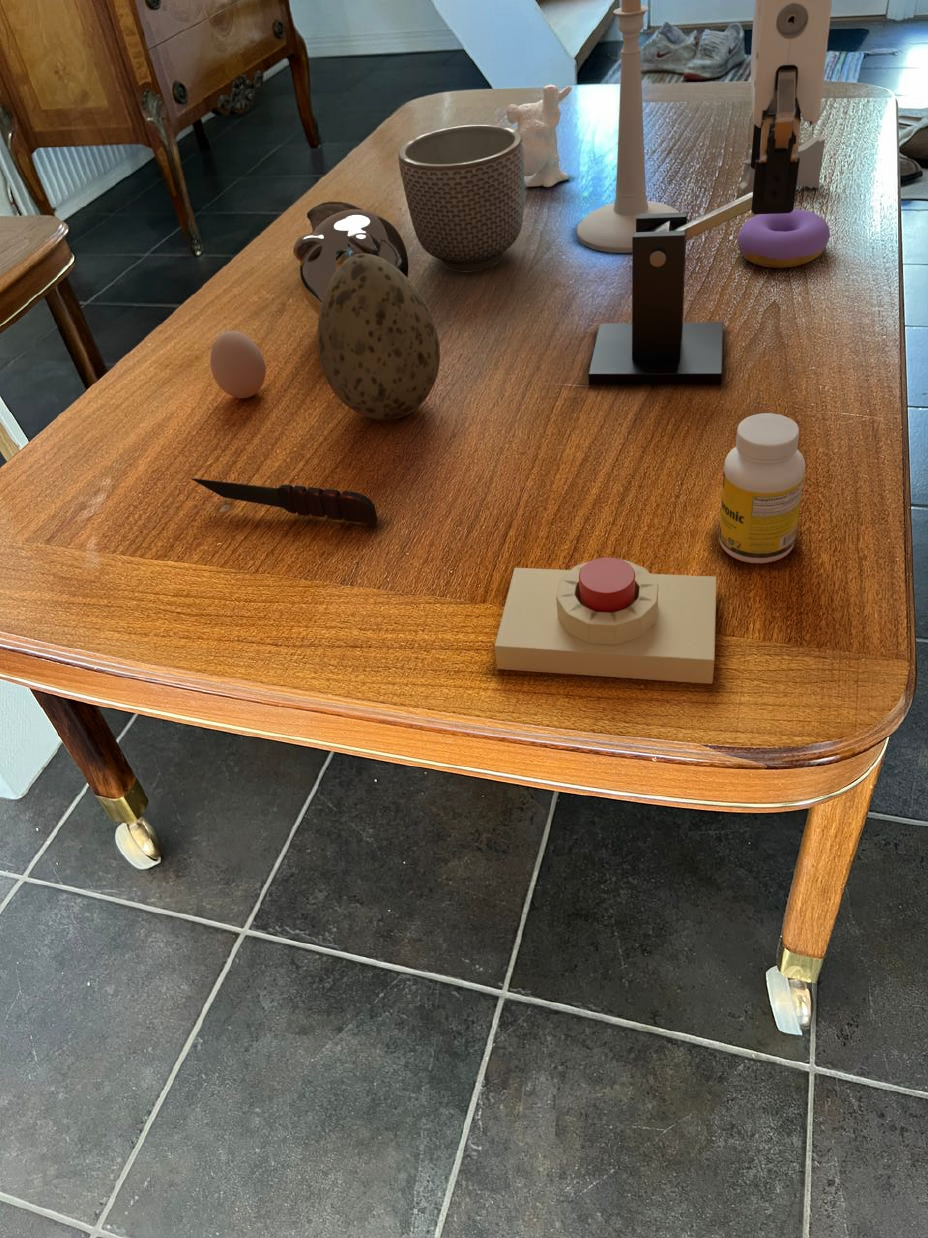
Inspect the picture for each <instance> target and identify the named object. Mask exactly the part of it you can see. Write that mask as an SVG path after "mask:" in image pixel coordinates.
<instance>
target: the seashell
mask: <svg viewBox="0 0 928 1238" xmlns="http://www.w3.org/2000/svg"><path fill="white" fill-rule="evenodd" d="M351 209H360V210H363V209H362V208H360V207H358V206H356V205H353V204H351V203H349V202H344V201H326V202H322V203H320V204H318V205H316V206H314V207H312V208H311V209H310V210H309V211H307V213H306V218H307V219H308V220H309V222H310V226H311V230H312V231H313V230H314V229H315V228H316V227H317V226H318V225H319V224H320V223H321V222H322V221H323V220H325V219H326V218H327V217H329V216H331V215H333V214H335V213H338V212H341V211H345V210H351Z"/></svg>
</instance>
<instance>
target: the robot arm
mask: <svg viewBox="0 0 928 1238" xmlns="http://www.w3.org/2000/svg"><path fill="white" fill-rule="evenodd" d="M832 4H833V0H754V5H753V18H752V32H751V51H750V52H751V53H750V93H751V108H752V109H751V110H752V123H753V132H752V145H751V149H752V155H751V168H752V169H755V175H754V185H753V196H752V209H751V213H752V214H753V215H759V214H783V213H791V212H792V211H793V209H795V202H796V194H797V186H798V185H797V178H798V170H799V162H800V158H798V148H799V146H800V131H801V121H802V122H803V123H807V122H808V123H809V126H814V125H816V124H817V123H818V122H819V120H820V118H821V109H822V96H823V89H824V79H825V78H824V77H825V69H826V61H827V60H826V59H827V54H828V53H827V52H828V44H829V43H828V42H829V34H830V25H831V14H832Z"/></svg>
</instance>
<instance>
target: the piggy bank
mask: <svg viewBox="0 0 928 1238" xmlns="http://www.w3.org/2000/svg"><path fill="white" fill-rule="evenodd" d="M360 209H361V208H360ZM360 209H351V210H345V211H341V212H338V213H335V214H333V215H331V216H329V217H327V218H326V219H325V220H323V221H322V222H321V223H320V224H319V225H318V226H317V227H316V228H315V229H314V230H312V232H311V233H307V234H304V235H302V236H300V237H299V238H297V240H296V241H295V243H294V246H293V250H292V251H293V256H294V257H295V258H296V259H297V261H299V281H300V287H301V290H302V292H303V295H304V298H305V300H306V301H307V303H308V305H309V306H310V307H311V309H312V310H313V312H315V313H316V314H317V315H318V316H319V313H320V307H321V303H322V299H323V296H324V293H325V290H326V288H327V286H328V284H329V281H330V280H331V278H332V276H333V274H334V273H335V271H336V270H337V269H338V268H339V266H340V265H341V264H342V263H343V262H344V261H345V260H347V259H348V258H350V257H351V256H354V255H357V254H372V255H375V256H378V257H381V258H383V259H385V260H386V261H388V262H389V263H391V264H392V265H394V266H395V267H396V268H397V269H399V270H400V271H401V272H402V273H403V274H404V275H405V276H406V277H407V278H408V279H409V257H408V252H407V249H406V245H405V243H404V240H403V238H402V236H401V234H400V232H399V231H398V230H397V228H396V227H395V226H394V225H393V224H392V223H391V222H390V221H389V220H388V219H386V218H385V217H383V216H382V215H381V214H379V213H376V212H374V211H370V210H368V209H367V210H366V209H362V210H360Z"/></svg>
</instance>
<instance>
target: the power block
mask: <svg viewBox="0 0 928 1238" xmlns="http://www.w3.org/2000/svg"><path fill="white" fill-rule="evenodd" d="M623 560H624V561H626V562H627V563H629V564H630V565H631V566H632V568H633V569H634V572H635V597H634V600H633V602H632V603H631V604H630V605H629V606H628V607H626V608H625V609H623V610H620V611H617V612H613V613H606V612H596V611H593V610H591V609H589V608H587V607H586V606H585V605H584V604H583V603H582V601H581V599H580V592H579V573H580V570H581V569H582V567H583V566H584V565H585V564H586V563H588V562H590V561H591V560H590V561H586V562H583V563H579V564H576V565H574V566H573V567H572V568H571V569H556V568H555V569H554V568H533V567H532V568H531V567H514V568H513V572H512V576H511V580H510V584H509V588H508V591H507V594H506V595H507V596H506V600H505V603H504V607H503V611H502V615H501V619H500V623H499V626H498V631H497V633H496V639H495V642H494V654H495V661H496V668H497V670H507V671H518V672H519V671H521V672H536V673H547V674H548V673H549V674H561V675H562V674H564V675H579V676H590V677H591V676H594V677H606V678H622V679H635V680H651V681H664V682H679V683H692V684H693V683H694V684H706V685H707V684H708V685H712V684H713V681H714V672H715V671H714V670H715V658H716V655H715V654H716V623H717V622H716V621H717V620H716V619H717V586H718V585H717V584H718V583H717V582H718V581H717V580H718V577H717V576H712V575H711V576H709V575H690V574H689V575H687V574H686V575H685V574H669V573H668V574H666V573H650V572H649V570H648V568H645V567H643V566H641V565H638V564H636V563H634V562H631V561H629V560H628V559H623Z"/></svg>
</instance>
